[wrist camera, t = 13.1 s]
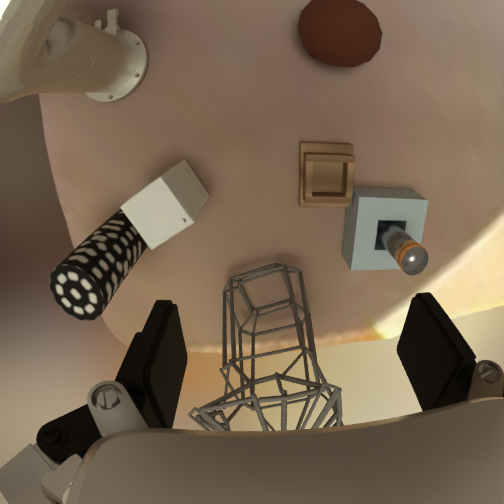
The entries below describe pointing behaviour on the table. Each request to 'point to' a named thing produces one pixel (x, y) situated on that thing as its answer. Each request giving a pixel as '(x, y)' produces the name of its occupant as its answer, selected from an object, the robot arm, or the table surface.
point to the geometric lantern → (318, 387)
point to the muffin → (340, 32)
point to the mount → (326, 174)
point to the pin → (402, 247)
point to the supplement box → (166, 204)
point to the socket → (366, 222)
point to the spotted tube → (97, 268)
